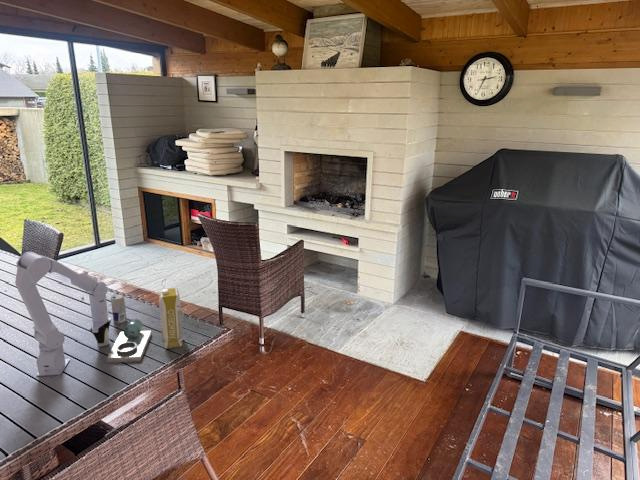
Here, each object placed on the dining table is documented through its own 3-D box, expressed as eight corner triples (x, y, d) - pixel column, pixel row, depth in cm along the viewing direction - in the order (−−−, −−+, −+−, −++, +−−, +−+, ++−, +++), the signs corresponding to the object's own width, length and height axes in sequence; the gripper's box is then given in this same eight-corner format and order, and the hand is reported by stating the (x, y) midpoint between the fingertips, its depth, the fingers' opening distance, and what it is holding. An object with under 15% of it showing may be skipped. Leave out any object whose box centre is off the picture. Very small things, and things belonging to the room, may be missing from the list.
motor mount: (140, 361, 168) (138, 342, 165) (107, 362, 166) (104, 344, 163) (151, 334, 186) (149, 317, 184) (121, 336, 184) (119, 319, 182)
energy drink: (114, 319, 198) (111, 294, 194) (126, 317, 200) (124, 293, 196) (113, 324, 193) (110, 299, 189) (126, 322, 195) (123, 298, 191)
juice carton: (162, 338, 183) (157, 286, 176) (182, 335, 186) (178, 283, 179) (163, 350, 175) (158, 295, 168) (184, 347, 178) (180, 293, 170)
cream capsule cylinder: (107, 345, 175) (105, 330, 173) (95, 346, 175) (93, 330, 173) (110, 340, 180) (109, 324, 177) (99, 340, 179) (97, 325, 177)
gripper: (104, 317, 166) (108, 348, 170) (115, 300, 180) (118, 330, 184) (84, 318, 165) (88, 349, 169) (96, 301, 179) (100, 330, 183)
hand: (103, 339), depth 177 cm, fingers closed on cream capsule cylinder, 4 cm apart
